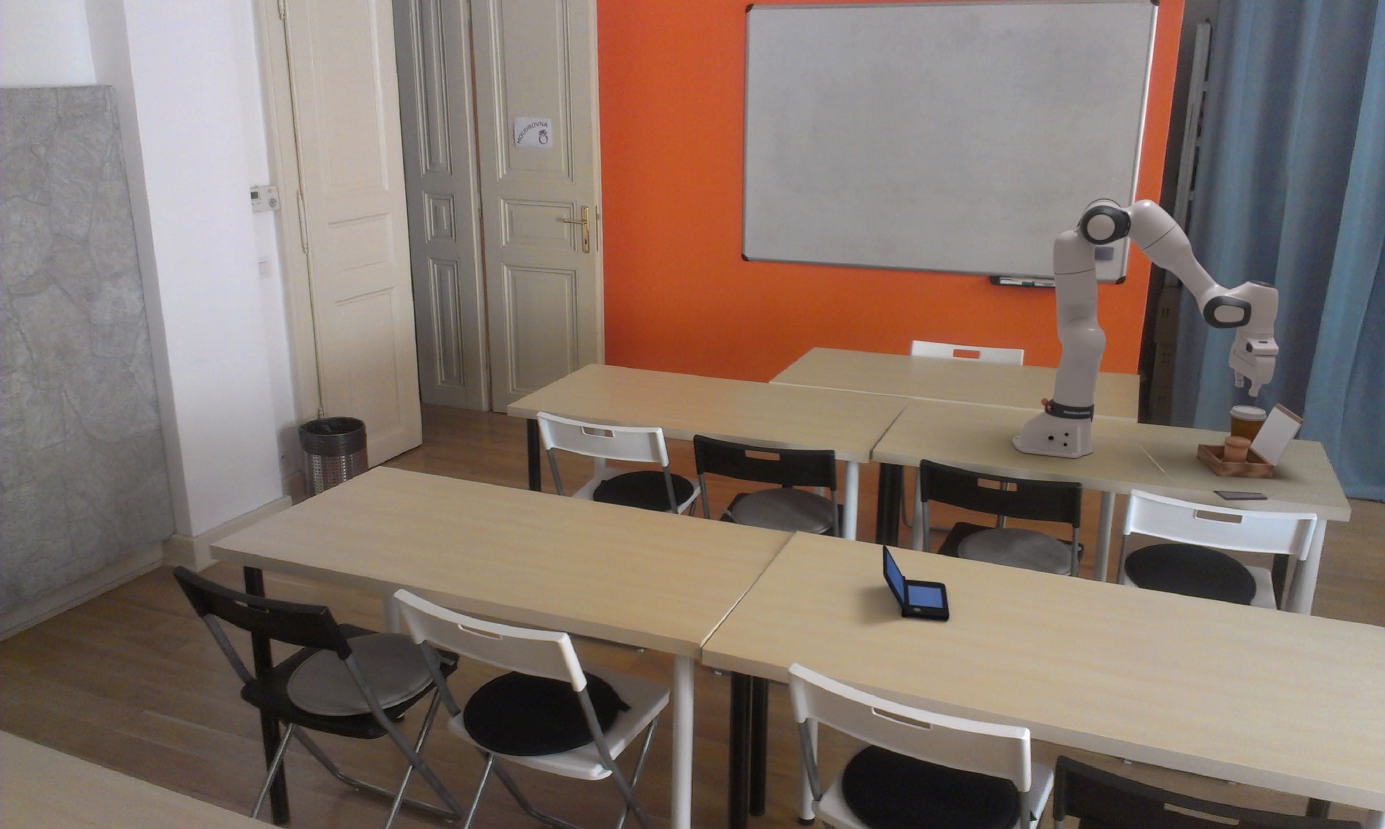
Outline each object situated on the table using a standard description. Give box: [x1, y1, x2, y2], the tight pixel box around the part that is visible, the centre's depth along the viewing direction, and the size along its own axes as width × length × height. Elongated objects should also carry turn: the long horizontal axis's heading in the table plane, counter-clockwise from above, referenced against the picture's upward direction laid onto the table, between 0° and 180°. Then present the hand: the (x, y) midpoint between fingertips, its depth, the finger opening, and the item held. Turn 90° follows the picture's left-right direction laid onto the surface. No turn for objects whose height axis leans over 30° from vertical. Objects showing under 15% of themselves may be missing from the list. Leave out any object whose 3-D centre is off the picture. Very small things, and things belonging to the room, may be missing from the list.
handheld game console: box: [882, 544, 951, 622], centre depth 207 cm, size 16×13×9 cm
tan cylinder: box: [1222, 435, 1251, 463], centre depth 285 cm, size 6×6×8 cm
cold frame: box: [1196, 443, 1275, 480], centre depth 285 cm, size 14×16×4 cm
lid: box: [1250, 402, 1306, 467], centre depth 282 cm, size 14×16×1 cm
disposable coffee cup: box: [1229, 405, 1268, 446], centre depth 302 cm, size 10×10×12 cm
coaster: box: [1213, 490, 1269, 501], centre depth 270 cm, size 11×11×1 cm
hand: (1245, 391), depth 280 cm, fingers open, 8 cm apart
